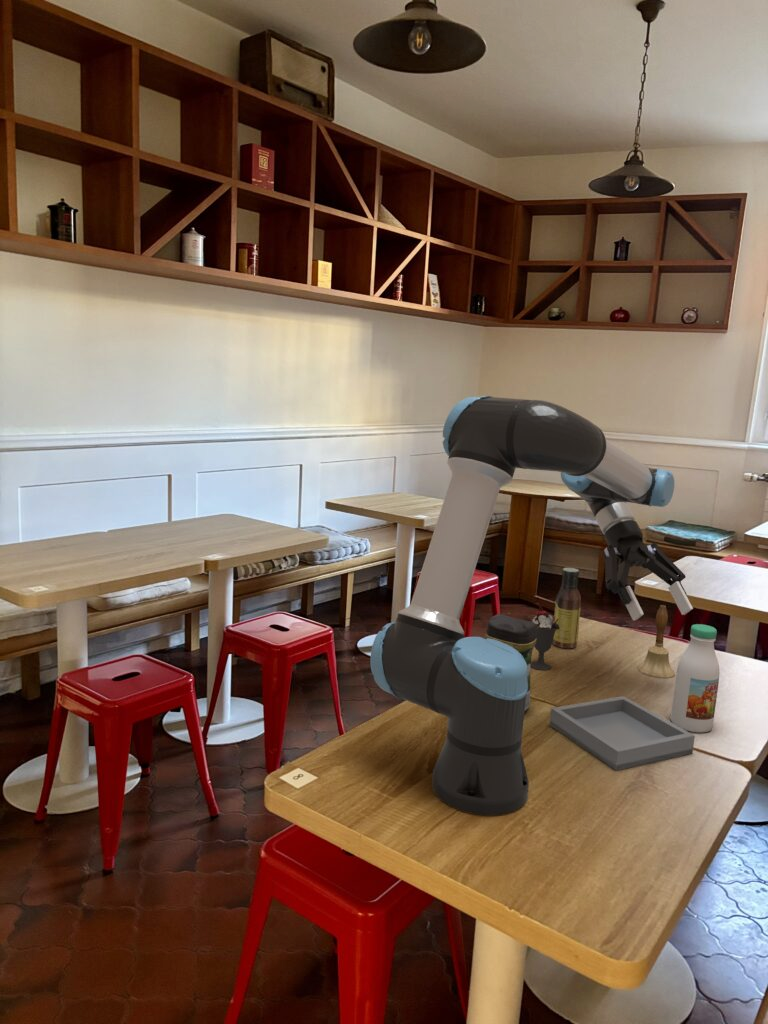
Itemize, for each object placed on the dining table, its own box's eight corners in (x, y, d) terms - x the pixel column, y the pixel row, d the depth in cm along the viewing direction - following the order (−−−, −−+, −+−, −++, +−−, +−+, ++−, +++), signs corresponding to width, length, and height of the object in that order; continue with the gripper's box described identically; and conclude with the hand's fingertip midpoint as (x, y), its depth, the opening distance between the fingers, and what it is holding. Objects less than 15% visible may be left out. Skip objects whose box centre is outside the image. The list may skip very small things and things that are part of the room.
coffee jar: (473, 706, 151) (481, 616, 147) (491, 694, 157) (498, 608, 154) (518, 720, 145) (527, 628, 142) (534, 707, 152) (543, 618, 149)
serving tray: (615, 770, 128) (618, 751, 127) (549, 725, 144) (551, 708, 143) (692, 753, 136) (694, 735, 135) (621, 712, 152) (623, 696, 151)
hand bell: (659, 680, 170) (668, 612, 167) (629, 668, 177) (637, 602, 174) (682, 674, 174) (691, 608, 172) (652, 662, 181) (660, 598, 179)
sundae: (520, 661, 177) (526, 600, 174) (545, 660, 179) (551, 599, 176) (534, 672, 170) (540, 608, 168) (560, 670, 172) (566, 607, 170)
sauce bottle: (561, 639, 194) (569, 564, 191) (582, 646, 190) (590, 570, 186) (545, 644, 190) (553, 567, 187) (566, 651, 185) (574, 573, 182)
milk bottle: (667, 727, 146) (680, 628, 143) (672, 712, 153) (685, 618, 150) (710, 737, 143) (724, 636, 139) (713, 722, 149) (727, 626, 146)
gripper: (651, 535, 173) (695, 617, 162) (565, 539, 162) (606, 628, 151) (672, 516, 167) (719, 601, 156) (584, 519, 156) (628, 610, 146)
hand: (663, 614), depth 154 cm, fingers open, 13 cm apart
